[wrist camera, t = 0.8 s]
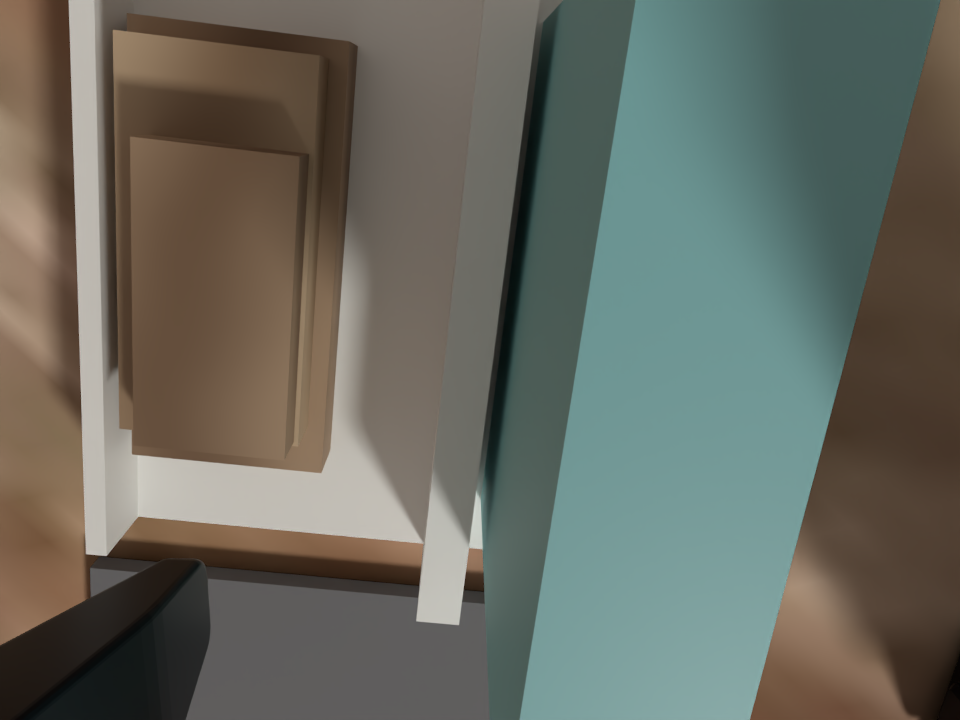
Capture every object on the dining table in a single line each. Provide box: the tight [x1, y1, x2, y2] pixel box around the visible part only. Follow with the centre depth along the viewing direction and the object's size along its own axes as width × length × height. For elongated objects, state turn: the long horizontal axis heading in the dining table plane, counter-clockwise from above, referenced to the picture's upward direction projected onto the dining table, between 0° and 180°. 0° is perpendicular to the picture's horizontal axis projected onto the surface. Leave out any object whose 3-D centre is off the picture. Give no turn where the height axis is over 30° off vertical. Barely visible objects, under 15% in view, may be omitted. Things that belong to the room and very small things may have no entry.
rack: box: [69, 0, 563, 625], centre depth 19 cm, size 14×15×4 cm
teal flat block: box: [481, 0, 940, 720], centre depth 15 cm, size 3×12×11 cm, turn 173°
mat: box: [90, 557, 490, 720], centre depth 25 cm, size 16×9×1 cm, turn 83°
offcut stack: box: [113, 13, 358, 473], centre depth 18 cm, size 5×10×4 cm, turn 173°
